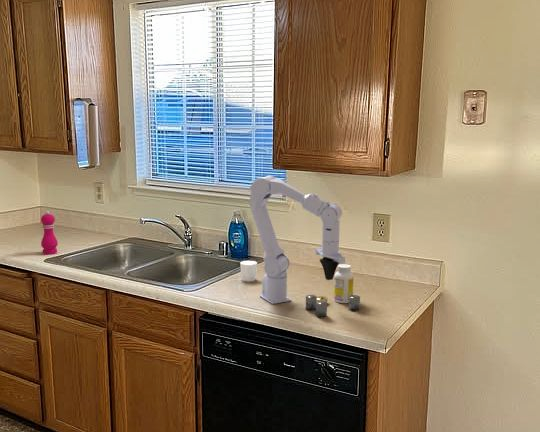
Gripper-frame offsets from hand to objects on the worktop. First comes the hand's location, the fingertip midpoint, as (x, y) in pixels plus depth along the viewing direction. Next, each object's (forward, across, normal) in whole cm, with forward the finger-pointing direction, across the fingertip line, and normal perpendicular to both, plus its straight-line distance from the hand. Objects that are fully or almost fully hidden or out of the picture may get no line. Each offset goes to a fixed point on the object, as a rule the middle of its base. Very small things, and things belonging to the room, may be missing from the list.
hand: (329, 279), depth 187 cm
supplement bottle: (+10, +3, -8) cm, 14 cm away
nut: (+10, +4, 0) cm, 11 cm away
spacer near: (+10, +1, +6) cm, 12 cm away
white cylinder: (+10, +41, +10) cm, 43 cm away
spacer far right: (+10, -6, +7) cm, 14 cm away
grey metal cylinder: (+10, -6, -6) cm, 13 cm away
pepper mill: (+10, +120, +74) cm, 141 cm away
